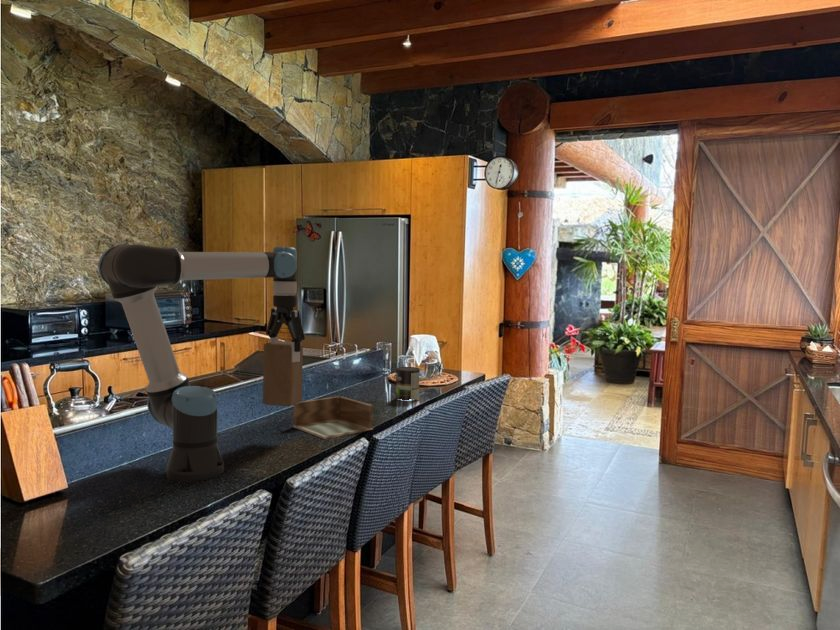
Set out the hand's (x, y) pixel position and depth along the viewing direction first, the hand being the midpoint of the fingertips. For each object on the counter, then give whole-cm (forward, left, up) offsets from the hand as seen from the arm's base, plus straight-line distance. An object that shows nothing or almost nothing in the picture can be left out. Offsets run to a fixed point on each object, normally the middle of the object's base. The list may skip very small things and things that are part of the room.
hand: (284, 359), depth 210 cm
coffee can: (+72, +21, -27) cm, 80 cm away
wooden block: (-1, 0, -15) cm, 15 cm away
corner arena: (+20, +1, -27) cm, 33 cm away
